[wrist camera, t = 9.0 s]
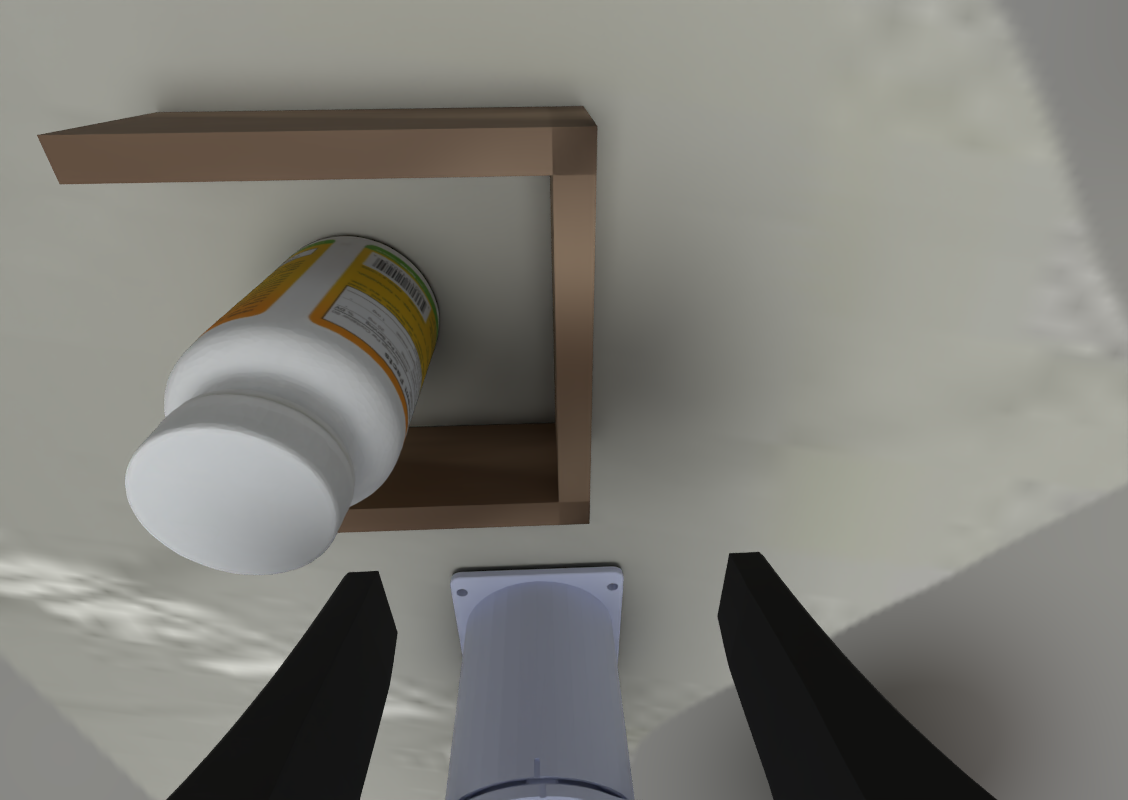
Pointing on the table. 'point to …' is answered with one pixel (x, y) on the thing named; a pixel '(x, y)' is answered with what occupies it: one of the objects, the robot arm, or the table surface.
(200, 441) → the supplement bottle
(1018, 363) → the table surface
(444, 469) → the walnut stall
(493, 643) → the robot arm
